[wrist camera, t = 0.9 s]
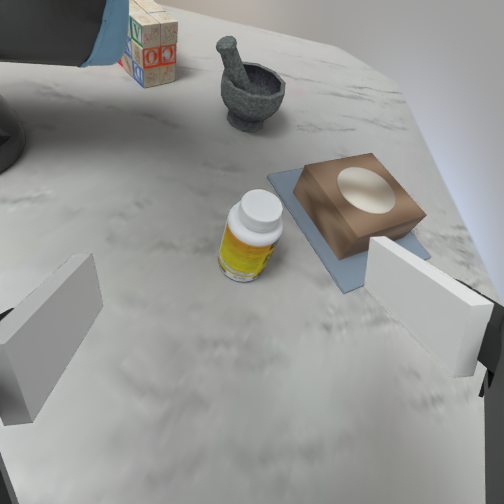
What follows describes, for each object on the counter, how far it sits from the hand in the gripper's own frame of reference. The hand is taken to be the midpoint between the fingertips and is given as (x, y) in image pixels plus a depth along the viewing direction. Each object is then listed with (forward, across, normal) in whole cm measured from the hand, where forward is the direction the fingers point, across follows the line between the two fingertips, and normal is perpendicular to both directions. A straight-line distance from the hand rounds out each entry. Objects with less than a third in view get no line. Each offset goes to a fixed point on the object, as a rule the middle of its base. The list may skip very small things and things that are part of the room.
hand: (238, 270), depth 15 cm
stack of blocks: (+54, -15, +19) cm, 59 cm away
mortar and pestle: (+43, +4, +8) cm, 44 cm away
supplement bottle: (+21, +2, -8) cm, 22 cm away
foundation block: (+28, +18, -5) cm, 34 cm away
